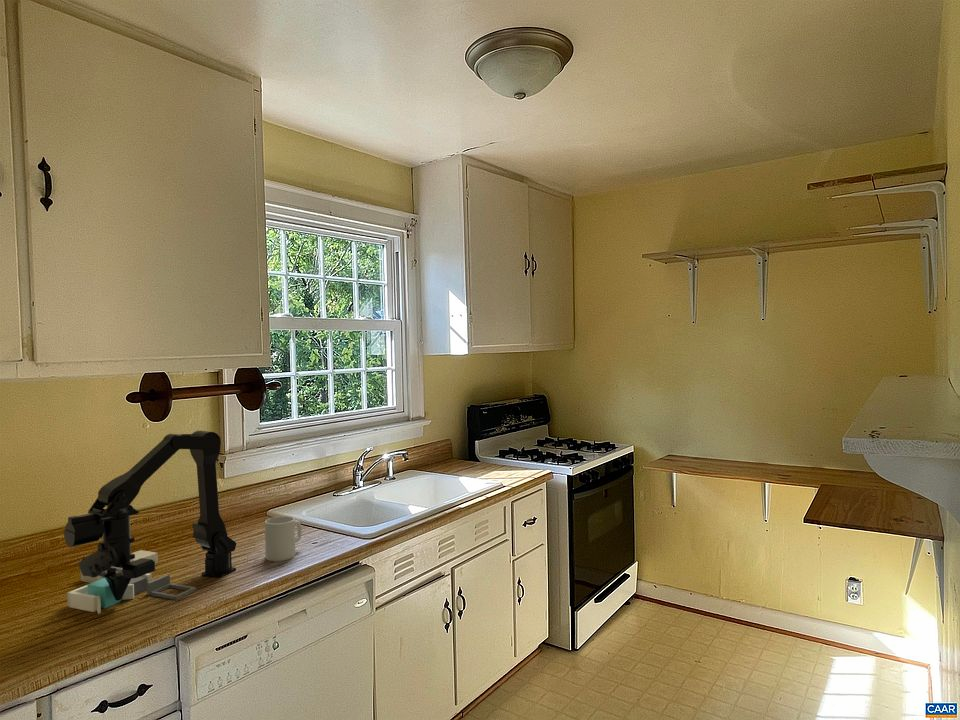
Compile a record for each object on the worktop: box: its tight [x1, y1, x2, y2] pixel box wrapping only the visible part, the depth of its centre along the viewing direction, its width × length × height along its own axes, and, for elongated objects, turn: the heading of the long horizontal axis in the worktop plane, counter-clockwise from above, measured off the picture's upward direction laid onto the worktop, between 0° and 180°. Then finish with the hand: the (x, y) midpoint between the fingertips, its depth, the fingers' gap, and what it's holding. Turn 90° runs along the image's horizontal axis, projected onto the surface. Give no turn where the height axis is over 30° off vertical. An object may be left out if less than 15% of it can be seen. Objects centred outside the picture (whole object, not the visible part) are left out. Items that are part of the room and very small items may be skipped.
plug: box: [86, 579, 122, 609], centre depth 151 cm, size 7×4×5 cm, turn 69°
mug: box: [264, 515, 303, 562], centre depth 184 cm, size 12×8×11 cm
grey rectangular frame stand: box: [146, 574, 197, 601], centre depth 157 cm, size 10×6×3 cm, turn 68°
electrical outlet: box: [80, 549, 159, 584], centre depth 173 cm, size 7×4×18 cm
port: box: [66, 573, 153, 615], centre depth 154 cm, size 11×16×4 cm
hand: (118, 599), depth 149 cm, fingers closed
